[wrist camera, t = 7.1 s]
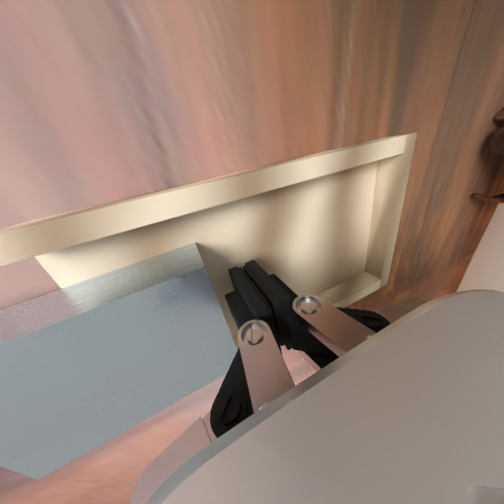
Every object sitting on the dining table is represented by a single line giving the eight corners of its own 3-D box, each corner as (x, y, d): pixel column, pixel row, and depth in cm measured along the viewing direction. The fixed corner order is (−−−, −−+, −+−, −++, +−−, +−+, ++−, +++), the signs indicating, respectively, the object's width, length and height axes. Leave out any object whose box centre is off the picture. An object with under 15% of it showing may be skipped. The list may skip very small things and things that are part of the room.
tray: (382, 138, 13) (417, 132, 11) (365, 273, 19) (387, 284, 17) (19, 223, 7) (-30, 239, 6) (149, 381, 13) (146, 416, 11)
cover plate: (195, 242, 10) (204, 265, 7) (228, 327, 13) (242, 364, 11) (-48, 326, 7) (-162, 406, 5) (68, 407, 11) (37, 480, 8)
